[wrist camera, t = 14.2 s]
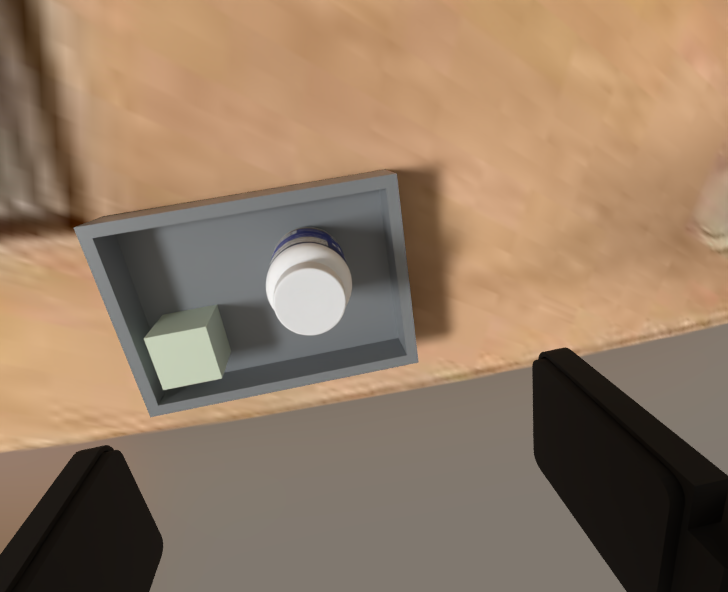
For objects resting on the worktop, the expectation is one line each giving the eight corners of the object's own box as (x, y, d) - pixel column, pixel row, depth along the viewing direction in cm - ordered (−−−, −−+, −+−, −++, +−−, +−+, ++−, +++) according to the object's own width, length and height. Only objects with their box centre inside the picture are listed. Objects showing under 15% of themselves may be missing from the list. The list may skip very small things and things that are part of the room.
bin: (385, 169, 30) (396, 173, 27) (406, 339, 36) (418, 362, 32) (102, 216, 29) (73, 227, 25) (167, 386, 34) (150, 417, 30)
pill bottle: (347, 288, 32) (363, 339, 24) (279, 299, 32) (271, 355, 23) (338, 220, 30) (351, 249, 22) (265, 230, 30) (251, 264, 22)
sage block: (217, 304, 31) (205, 326, 27) (231, 351, 33) (222, 378, 29) (162, 314, 31) (143, 338, 27) (179, 361, 32) (163, 390, 29)
